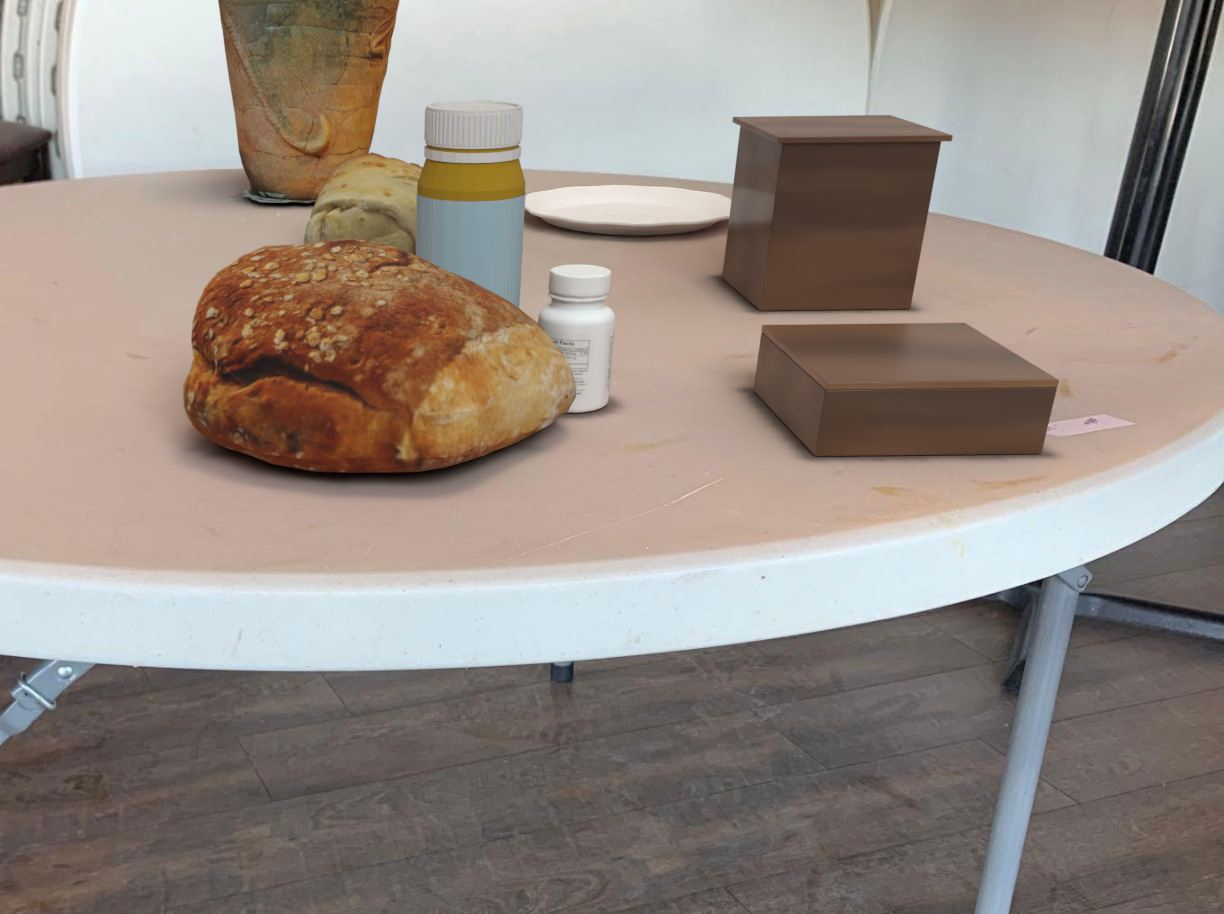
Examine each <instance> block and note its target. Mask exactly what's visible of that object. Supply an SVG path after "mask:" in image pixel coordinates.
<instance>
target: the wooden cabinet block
mask: <svg viewBox="0 0 1224 914" xmlns="http://www.w3.org/2000/svg"><path fill="white" fill-rule="evenodd" d="M732 123H734V124H736V125H737V126H739V135H738V143H737V151H736V158H735V159H736V160H735V168H734V174H733V175H734V176H733V184H732V193H731V199H732V200H731V208H730V216H729V219H728V225H727V232H726V242H725V249H724V251H725V252H724V258H723V267H722V268H723V269H722V273H721V274H722V275H721V279H723V280H724V281H725V282H727V284H729V285H730V286H731V287H732V288H733V289H735V290H736V292H738V294H740V295H741V296H742V297H744V298H745V299H746V300H747V301H748V302H750V303H751V305H753V306H754V307H756V309H757V310H759V311H760V312H761V311H762V312H766V311H769V312H770V311H771V312H773V311H846V310H848V311H854V310H855V311H857V310H859V311H860V310H861V311H862V310H863V311H864V310H911V308H912V307H911V306H912V302H913V297H914V291H915V285H916V280H917V275H918V269H919V266H920V265H919V263H920V260H921V259H920V258H921V253H922V248H923V242H924V238H925V233H926V227H927V221H928V215H929V210H930V205H931V199H932V194H933V188H934V183H935V177H936V171H937V167H938V161H939V157H940V156H939V155H940V151H941V145H942V142H952V141H953V136H954V135H953V134H951V133H947V132H944V131H941V130H938V129H935V128H932V127H930V126H929V127H928V126H925V125H923V124H920V123H916V122H913V121H910V120H907V119H903V118H901V117H898V116H894V115H891V114H874V115H873V114H863V115H862V114H860V115H859V114H858V115H856V114H855V115H854V114H853V115H852V114H851V115H790V116H789V115H778V116H775V115H774V116H772V115H771V116H767V115H766V116H764V115H763V116H733V117H732Z"/></svg>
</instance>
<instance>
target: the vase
mask: <svg viewBox="0 0 1224 914" xmlns="http://www.w3.org/2000/svg"><path fill="white" fill-rule="evenodd" d="M217 3H218V10H219V16H220V17H219V18H220V24H221V30H222V37H223V45H224V54H225V60H226V61H225V62H226V68H227V73H228V81H229V86H230V93H231V99H232V105H233V112H234V120H235V121H234V122H235V127H236V137H237V147H238V154H239V157H240V162H241V165H242V168H243V170H244V173H245V175H246V177H247V179H248V183H249V185H250V188H248V189H245V190H243V194H242V195H241V196H242V197H246V198H251V200H252V201H257V202H259V203H277V204H278V203H279V204H280V203H281V204H283V203H284V204H285V203H305V204H310V203H316V200H317V198H318V196H319V193H320V192H321V191H322V189H323V187H324V185H325V184H326V182H327V180H328V179H329V177H330V174H331V172H332V170H333V169H334V168H335V167H336V166H337V165H338V164H339V163H341V162H342V161H344V160H347V159H349V158H352V157H356V156H360V155H365V154H370V150H371V146H372V143H373V139H374V135H375V129H376V124H377V118H378V112H379V106H380V98H381V94H382V89H383V84H384V81H385V79H386V76H387V72H388V66H389V65H388V64H389V56H390V52H391V49H392V38H393V35H394V31H395V27H396V20H397V15H398V10H399V6H400V5H399V4H400V0H217Z"/></svg>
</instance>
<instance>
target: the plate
mask: <svg viewBox="0 0 1224 914" xmlns="http://www.w3.org/2000/svg"><path fill="white" fill-rule="evenodd" d="M731 200H732V198H729V197H727V196H725V195H723V194H719V193H715V192H709V191H703V190H702V191H700V190H692V189H688V188H687V189H686V188H681V187H672V186H671V187H670V186H650V185H649V186H648V185H647V186H646V185H645V186H644V185H633V184H632V185H630V184H605V185H586V186H585V185H583V186H581V185H580V186H577V185H576V186H575V185H574V186H565V187H558V188H553V189H548V190H540V191H534V192H531V193H527V194H525V211H527V213H529V214H530V215H532V216H535V217H538V218H541V219H542V221H545V222H546V223H547V224H550V225H552V226H554V227H558V228H561V229H566V230H571V231H575V232H584V233H591V234H600V235H612V236H662V235H677V234H684V233H691V232H697V231H701V230H703V229H707V228H709V227H712V226H713V225H714V224H715V223H717V222H721V221H725V220H729V216H730V208H731Z"/></svg>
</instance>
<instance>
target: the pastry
mask: <svg viewBox="0 0 1224 914" xmlns="http://www.w3.org/2000/svg"><path fill="white" fill-rule="evenodd" d="M422 169H423V166H421V165H420V164H418V163H414V162H410V163H409V162H406V161H404V160H403V159H399V158H395V157H387V156H384V155H383V154H379V153H376V152H372V151H370V152H369V154H365V155H360V156H356V157H352V158H349V159H347V160H344V161H342V162H341V163H339V164H338V165H337V166H336V167H335V168H334V169H333V170H332V172H331V174H330V177H329V179H328V180H327V182H326V184H325V185H324V187H323V189H322V191H321V192H320V193H319V196H318V198H317V200H316V202H314V205H313V207H312V210H311V213H310V218H309V220H308V222H307V224H306V226H305V233H304V238H303V243H302V244H306V243H315V242H321V241H326V240H331V239H361V240H365V241H368V242H372V243H376V244H385V245H390V246H393V247H395V248H398V249H401V250H403V251H406V252H408V253H411V254H414V255H416V206H417V183H418V180H419V177H420V174H421V171H422Z"/></svg>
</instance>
